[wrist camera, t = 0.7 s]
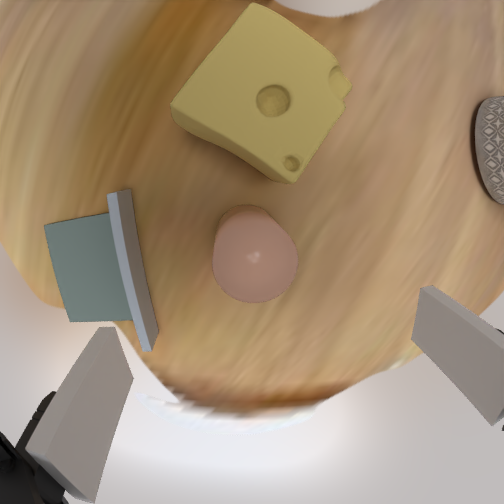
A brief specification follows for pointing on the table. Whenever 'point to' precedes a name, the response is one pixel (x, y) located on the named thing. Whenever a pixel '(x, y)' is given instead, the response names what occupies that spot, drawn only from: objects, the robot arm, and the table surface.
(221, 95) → the cheese
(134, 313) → the divider wall
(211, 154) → the table surface
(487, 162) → the planter
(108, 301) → the mat
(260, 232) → the pink rounded cylinder
